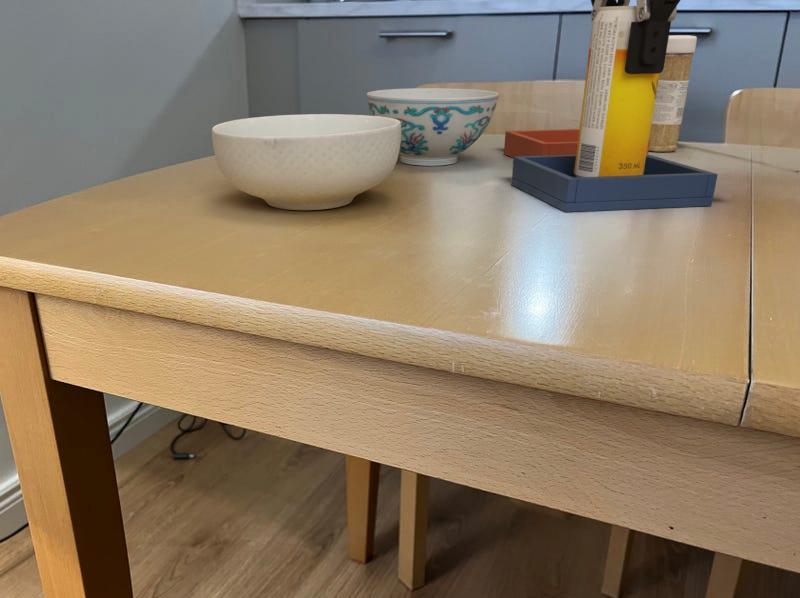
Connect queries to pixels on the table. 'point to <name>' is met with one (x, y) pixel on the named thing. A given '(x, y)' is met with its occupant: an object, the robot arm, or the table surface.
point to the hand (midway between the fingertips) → (623, 69)
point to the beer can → (614, 102)
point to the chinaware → (435, 120)
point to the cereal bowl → (307, 157)
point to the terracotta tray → (542, 142)
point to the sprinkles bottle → (671, 93)
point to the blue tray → (613, 185)
